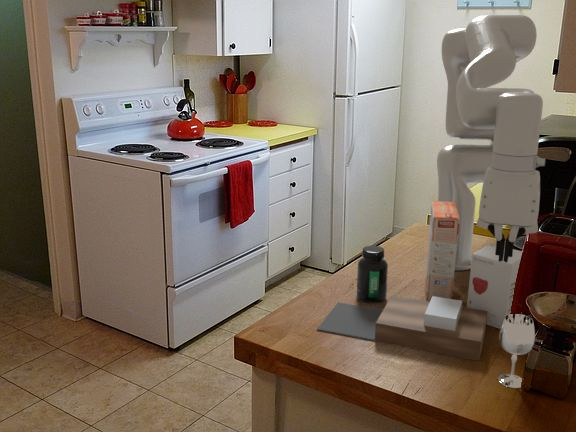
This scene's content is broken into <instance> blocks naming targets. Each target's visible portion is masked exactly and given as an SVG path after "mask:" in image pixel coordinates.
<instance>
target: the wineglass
mask: <svg viewBox="0 0 576 432" xmlns="http://www.w3.org/2000/svg"><path fill="white" fill-rule="evenodd" d="M498 340H499V344H500V346H501V348H502V349H503V350H504V351H505V352H507V353H509V354H511V357H510V360H511V369H510V370H511V372H510V373H502V374H501V375H500V374H499V376H498V378H497V381H498V382H499V384H501V385H502V386H504V387H507V388H512V389H521V388H522V387H521V382H522V379H523V378H522V377H521V376H519V375H516V374H515V367H516V363H517V362H518V356H522V355H526V354H528V353H530V352H531V350H532V349H533V348H534V345H535V342H536V341H535V340H536V329H535V324H534V320H533V318H531V317H530V316H528V315H525V314H522V313H521V314H508V315H506V316H505V317H504V320H503V322H502V325H501V328H500V329H499V333H498ZM532 347H533V348H532Z"/></svg>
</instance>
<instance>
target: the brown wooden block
mask: <svg viewBox="0 0 576 432" xmlns="http://www.w3.org/2000/svg"><path fill="white" fill-rule="evenodd" d="M429 303H430V302H428V301H426V300H421V299H415V298H414V299H413V298H409V297H408V298H407V297H402V296H398V295H397V296H395V295H391V297H390V298H389V300H388V301H387V304H386V305H385V306H384V309H382V310H383V311H382V313H381V315H380V316H379V318H378V320H377V322H376V326H375V340H374V342H379V343H382V344H388V345H393V346H399V347H403V348H410V349H415V350H419V351H425V352H430V353H436V354H440V355H446V356H450V357H451V356H452V357H457V358H462V359H468V360H473V361H476V362H477V361H478V362H480V359H481V353H482V349H483V344H484V339H485V334H486V331H487V324H486V323H487V314H488V311H484V310H478V309H472V308H467V307H465V306H462V309H461V314H460V317H459V321H458V324H457V327H456V330H455V331H452V330H446V329H441V328H435V327H429V326H424V316H425V312H426V310H427V307H428V305H429Z"/></svg>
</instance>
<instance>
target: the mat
mask: <svg viewBox="0 0 576 432" xmlns="http://www.w3.org/2000/svg"><path fill="white" fill-rule="evenodd" d="M383 310H384V309H380V308H375V307H370V306H369V307H368V306H362V305H357V304H350V303H345V302H339V301H338V302H337V303H336V304H335V305H334V306H333V308H332V309H331V311H329V313H328V314H327V315H326V317H325V318H324V320H323V321H322V322H321V323H320V324H319V326H318V327H317V328H316V330H317V331H320V332H323V333H325V332H326V333H330V334H336V335H340V336H346V337H351V338H356V339H361V340H365V341H366V340H367V341H374V342H375V326H376V322H377V320H378V318H379V316H380V315H381V313H382V311H383Z"/></svg>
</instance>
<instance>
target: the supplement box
mask: <svg viewBox="0 0 576 432" xmlns="http://www.w3.org/2000/svg"><path fill="white" fill-rule="evenodd" d="M504 251H505V247H504ZM495 252H496V244H494V243H489V244H487V245H485V246H484V247H482V248H480V249H478V250H476V251H474V252H471V256H472V260H471V269H469V270H470V272H469V283H468V290H467V291H468V292H467V301H466V308H472V309H478V310H484V311H488V314H487V323H486V326H490V327H493V328H495V329H499V330H500V328H501V325H502V322H503V320H504V317H505V316H506V315H508V314H510V313H511V306H512V301H513V295H514V288H515V282H516V278H517V273H518V268H519V263H520V259H521V255H522V252H523V251H522V250H518V249H514V248H513V254H512V257H508V262H505V261H501V262H500V261H498V260H499V256H498V255H495ZM503 260H504V256H503Z"/></svg>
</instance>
